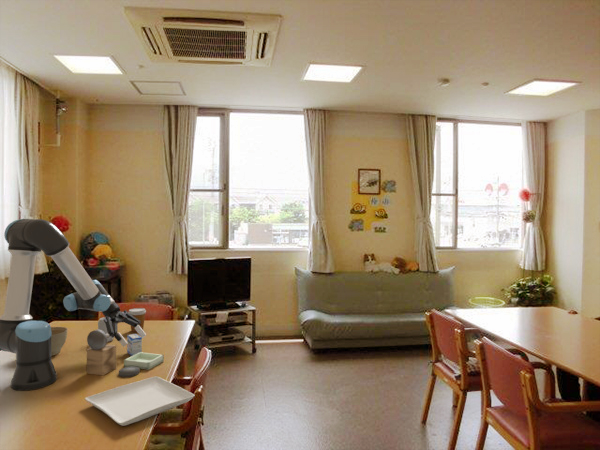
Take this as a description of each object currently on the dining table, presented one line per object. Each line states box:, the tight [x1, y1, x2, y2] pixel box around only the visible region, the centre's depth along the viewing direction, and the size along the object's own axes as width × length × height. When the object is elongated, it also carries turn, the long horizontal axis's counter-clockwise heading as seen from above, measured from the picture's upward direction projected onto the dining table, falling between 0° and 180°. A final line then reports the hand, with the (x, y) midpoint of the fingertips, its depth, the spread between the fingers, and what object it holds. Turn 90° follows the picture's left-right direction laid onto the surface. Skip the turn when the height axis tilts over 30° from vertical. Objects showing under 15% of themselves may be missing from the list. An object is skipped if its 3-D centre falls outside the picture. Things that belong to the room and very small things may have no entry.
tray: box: [123, 351, 165, 371], centre depth 184 cm, size 11×13×3 cm
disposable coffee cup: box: [127, 307, 147, 333], centre depth 237 cm, size 10×10×12 cm
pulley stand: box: [86, 328, 117, 376], centre depth 175 cm, size 8×8×18 cm
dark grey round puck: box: [118, 367, 140, 378], centre depth 173 cm, size 8×8×2 cm
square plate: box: [84, 375, 195, 427], centre depth 144 cm, size 27×27×4 cm
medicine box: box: [126, 333, 143, 357], centre depth 197 cm, size 8×4×9 cm, turn 40°
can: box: [97, 316, 115, 343], centre depth 217 cm, size 8×8×12 cm
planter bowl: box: [51, 326, 69, 357], centre depth 196 cm, size 16×16×11 cm
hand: (135, 340), depth 197 cm, fingers open, 13 cm apart
